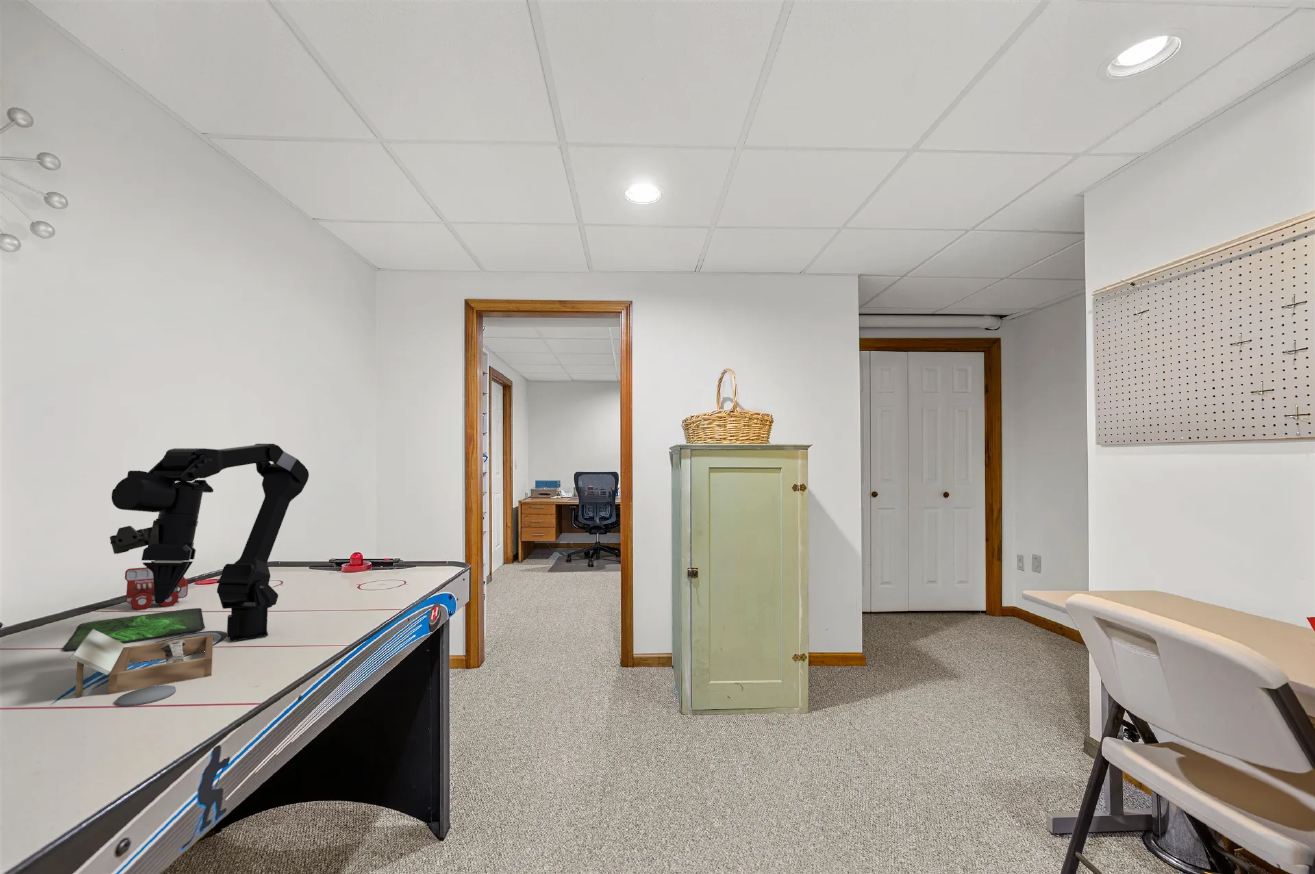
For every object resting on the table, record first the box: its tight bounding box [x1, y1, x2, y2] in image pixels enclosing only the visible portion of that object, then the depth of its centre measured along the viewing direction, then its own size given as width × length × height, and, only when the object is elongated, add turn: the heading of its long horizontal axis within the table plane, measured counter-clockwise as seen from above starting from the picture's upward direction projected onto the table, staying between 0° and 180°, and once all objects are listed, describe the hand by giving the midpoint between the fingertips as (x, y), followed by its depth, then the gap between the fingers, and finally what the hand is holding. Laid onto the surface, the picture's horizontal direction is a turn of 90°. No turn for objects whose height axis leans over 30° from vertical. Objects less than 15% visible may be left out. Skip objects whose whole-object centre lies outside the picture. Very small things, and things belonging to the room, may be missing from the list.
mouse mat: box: [63, 607, 206, 652], centre depth 126 cm, size 27×22×1 cm
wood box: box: [70, 629, 214, 699], centre depth 99 cm, size 18×17×7 cm
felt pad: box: [115, 684, 177, 707], centre depth 89 cm, size 7×7×1 cm
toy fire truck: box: [124, 566, 189, 611], centre depth 145 cm, size 7×12×10 cm, turn 130°
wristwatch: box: [160, 639, 185, 664], centre depth 101 cm, size 4×6×5 cm, turn 51°
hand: (161, 601), depth 101 cm, fingers open, 9 cm apart
